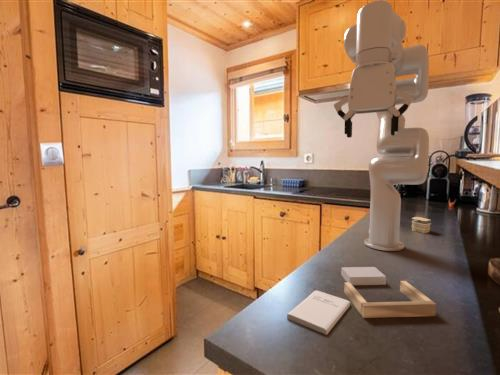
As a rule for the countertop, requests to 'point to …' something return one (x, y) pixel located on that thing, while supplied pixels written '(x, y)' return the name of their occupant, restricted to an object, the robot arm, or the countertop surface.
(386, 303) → the pine rack
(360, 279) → the light grey slab
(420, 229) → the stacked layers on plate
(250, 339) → the countertop surface
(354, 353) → the countertop surface
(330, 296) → the external hard drive
